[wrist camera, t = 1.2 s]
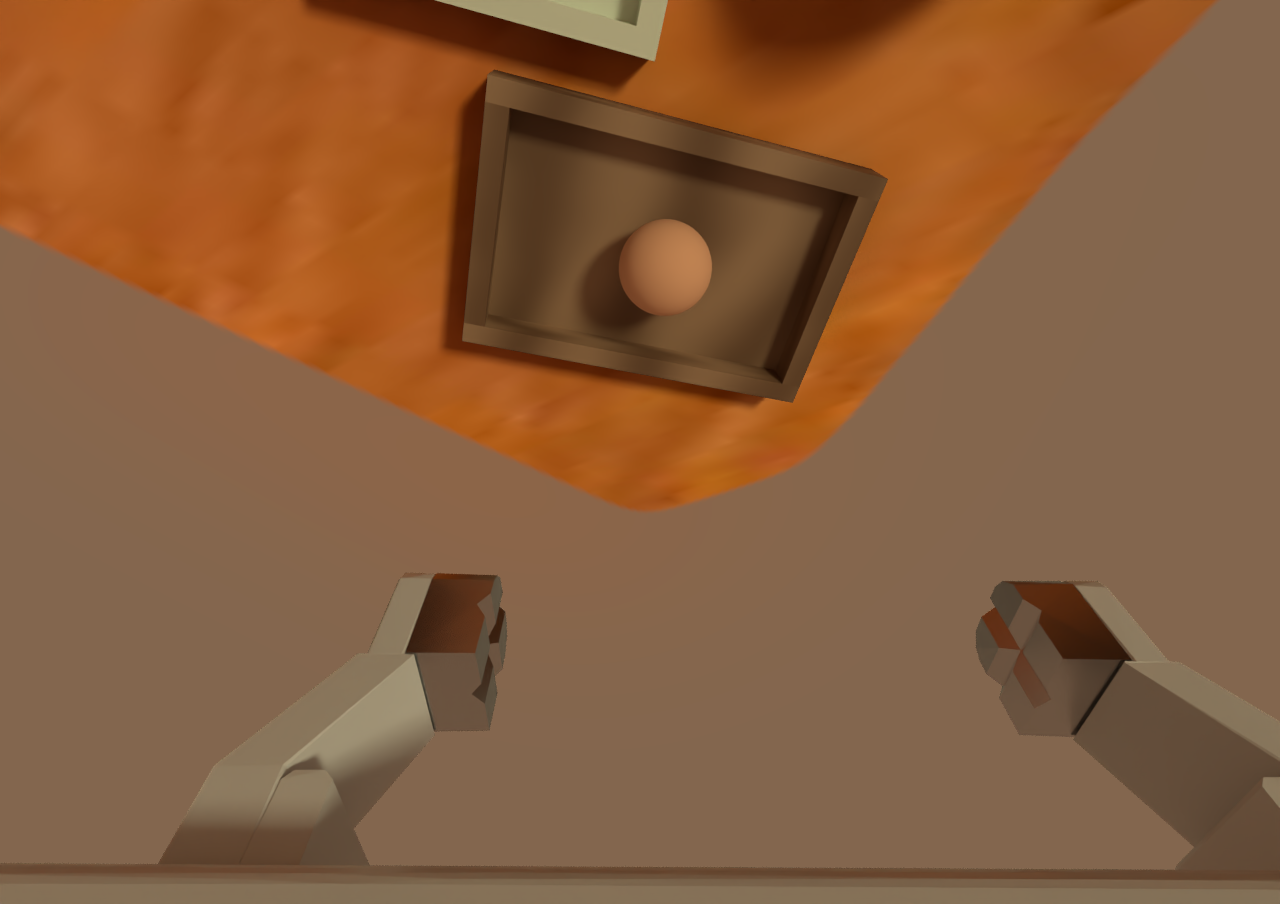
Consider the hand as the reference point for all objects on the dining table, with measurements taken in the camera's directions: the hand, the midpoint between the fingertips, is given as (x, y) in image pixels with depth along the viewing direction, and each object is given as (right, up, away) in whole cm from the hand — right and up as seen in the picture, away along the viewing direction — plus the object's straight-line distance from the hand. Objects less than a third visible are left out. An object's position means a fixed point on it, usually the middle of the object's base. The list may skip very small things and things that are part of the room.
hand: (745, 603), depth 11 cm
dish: (-1, +13, +22) cm, 26 cm away
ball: (-1, +11, +20) cm, 23 cm away
